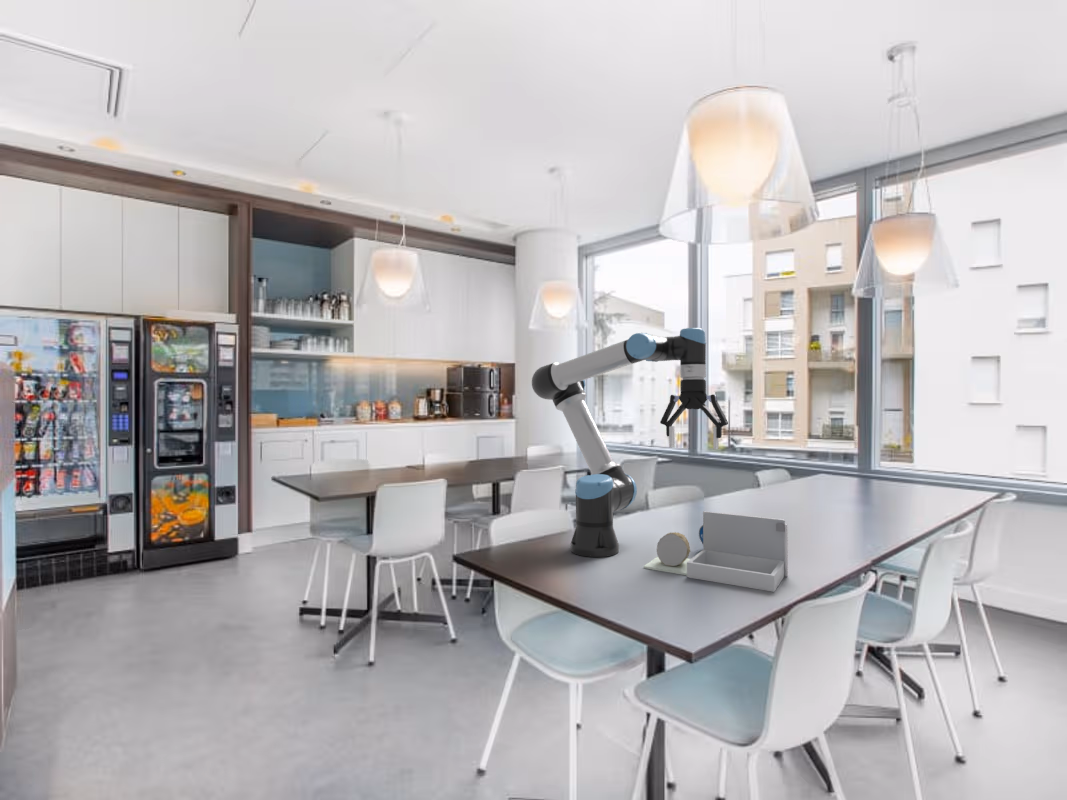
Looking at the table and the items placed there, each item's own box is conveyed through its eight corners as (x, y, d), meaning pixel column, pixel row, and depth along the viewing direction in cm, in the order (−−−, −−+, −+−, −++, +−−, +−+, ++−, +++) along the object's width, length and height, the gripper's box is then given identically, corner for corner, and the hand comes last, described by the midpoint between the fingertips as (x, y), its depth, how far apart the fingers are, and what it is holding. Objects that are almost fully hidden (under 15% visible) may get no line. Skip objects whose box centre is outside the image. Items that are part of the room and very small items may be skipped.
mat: (643, 568, 161) (643, 566, 161) (661, 556, 173) (661, 554, 173) (692, 576, 154) (692, 574, 154) (707, 563, 166) (707, 561, 166)
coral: (648, 542, 160) (659, 522, 168) (656, 572, 163) (667, 550, 171) (681, 544, 155) (691, 523, 163) (689, 574, 158) (698, 552, 166)
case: (686, 577, 153) (686, 521, 153) (704, 562, 166) (703, 511, 166) (777, 592, 141) (777, 532, 141) (788, 575, 154) (788, 519, 154)
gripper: (649, 379, 178) (650, 447, 178) (731, 377, 164) (732, 451, 165) (658, 380, 184) (658, 445, 184) (738, 378, 171) (738, 448, 171)
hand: (693, 448), depth 175 cm, fingers open, 13 cm apart
